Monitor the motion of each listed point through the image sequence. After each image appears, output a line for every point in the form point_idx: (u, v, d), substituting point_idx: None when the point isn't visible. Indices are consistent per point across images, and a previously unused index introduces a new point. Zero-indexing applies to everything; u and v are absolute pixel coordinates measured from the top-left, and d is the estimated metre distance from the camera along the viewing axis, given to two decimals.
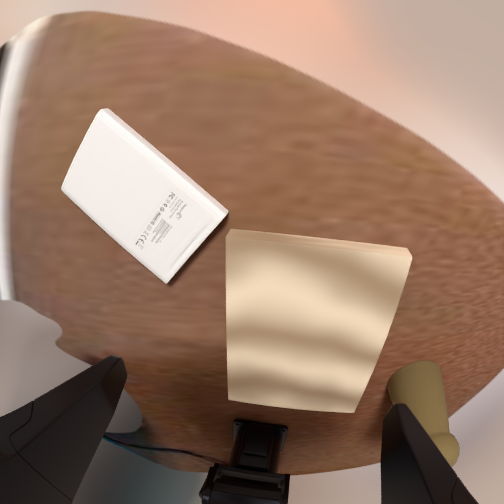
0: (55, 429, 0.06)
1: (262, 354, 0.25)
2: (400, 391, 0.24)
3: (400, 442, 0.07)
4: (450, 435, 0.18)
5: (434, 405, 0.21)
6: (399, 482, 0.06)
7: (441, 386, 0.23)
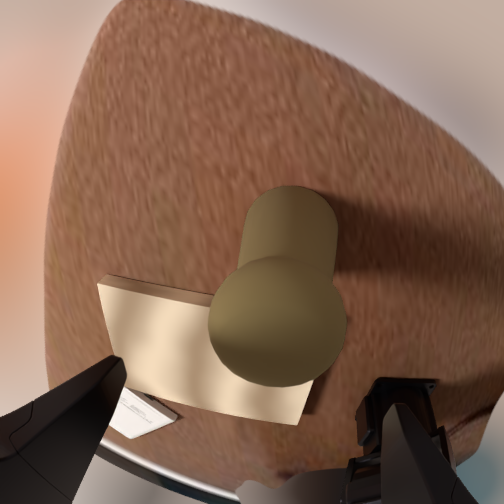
0: (55, 429, 0.06)
1: (220, 394, 0.26)
2: None
3: (400, 442, 0.07)
4: None
5: None
6: (399, 482, 0.06)
7: (251, 220, 0.17)
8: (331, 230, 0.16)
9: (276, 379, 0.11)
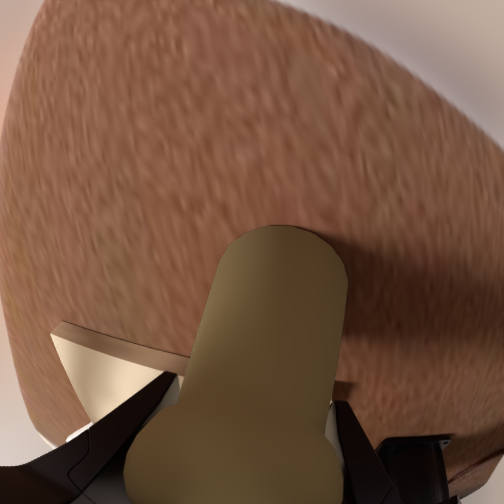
0: (118, 459, 0.06)
1: None
2: None
3: (335, 441, 0.07)
4: None
5: None
6: None
7: (217, 284, 0.11)
8: (337, 303, 0.10)
9: None
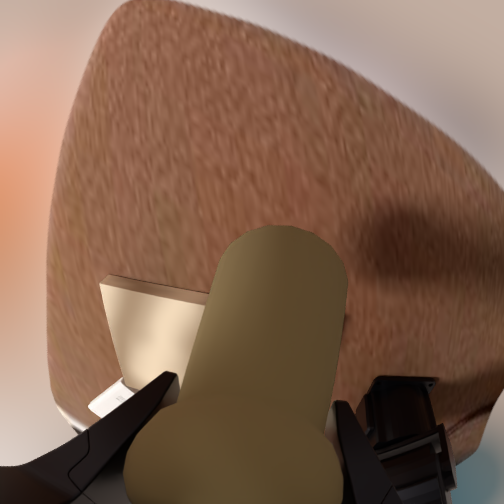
0: (118, 459, 0.06)
1: None
2: None
3: (335, 441, 0.07)
4: None
5: None
6: None
7: (217, 284, 0.11)
8: (337, 302, 0.10)
9: None
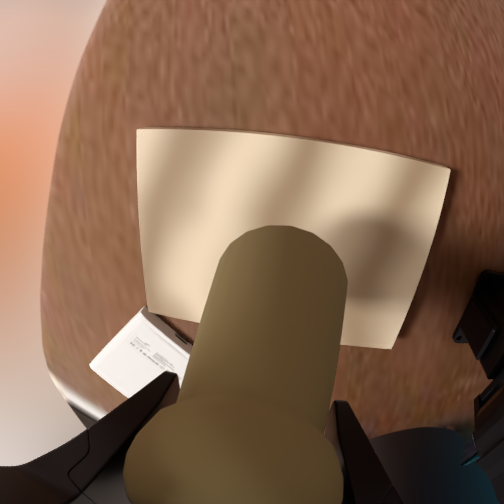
0: (118, 459, 0.06)
1: None
2: None
3: (335, 441, 0.07)
4: None
5: None
6: None
7: (216, 284, 0.11)
8: (337, 302, 0.10)
9: None
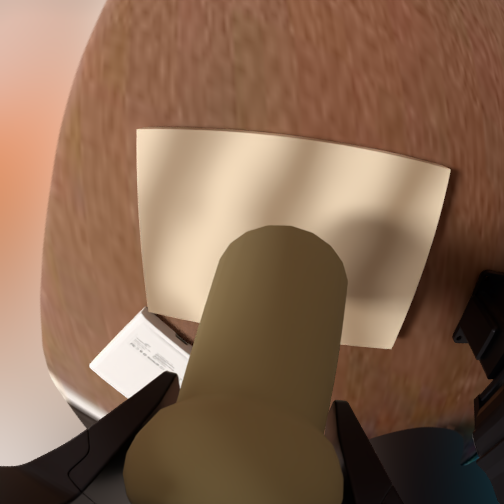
0: (118, 459, 0.06)
1: None
2: None
3: (335, 441, 0.07)
4: None
5: None
6: None
7: (216, 284, 0.11)
8: (337, 302, 0.10)
9: None
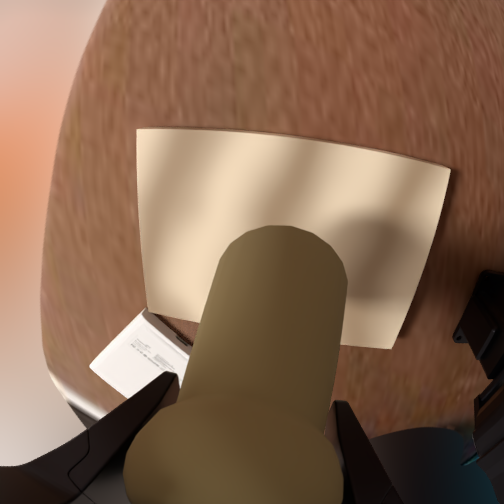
0: (118, 459, 0.06)
1: None
2: None
3: (335, 441, 0.07)
4: None
5: None
6: None
7: (216, 284, 0.11)
8: (337, 302, 0.10)
9: None
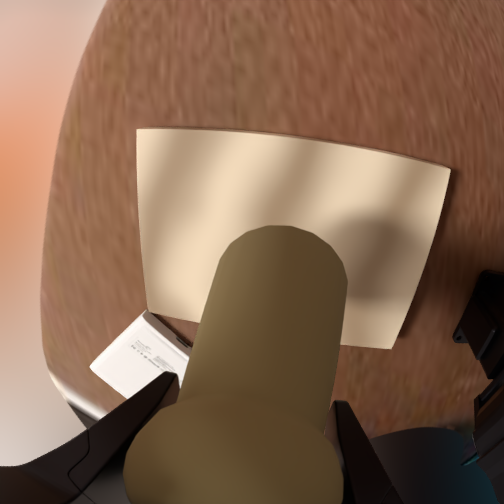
0: (118, 459, 0.06)
1: None
2: None
3: (335, 441, 0.07)
4: None
5: None
6: None
7: (216, 284, 0.11)
8: (337, 302, 0.10)
9: None
